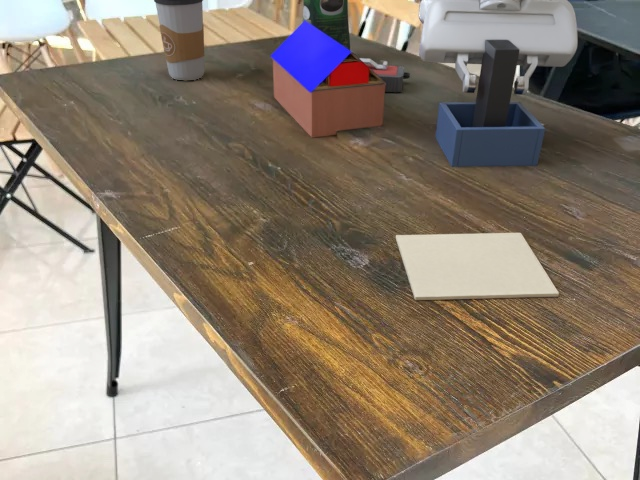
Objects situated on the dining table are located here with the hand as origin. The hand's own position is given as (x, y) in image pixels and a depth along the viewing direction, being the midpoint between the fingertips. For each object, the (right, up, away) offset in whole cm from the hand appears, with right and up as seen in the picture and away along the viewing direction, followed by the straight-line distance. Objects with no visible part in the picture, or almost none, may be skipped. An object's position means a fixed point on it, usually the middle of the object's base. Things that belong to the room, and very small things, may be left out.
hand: (495, 91), depth 85 cm
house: (-22, +3, +19) cm, 29 cm away
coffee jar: (-22, +22, +44) cm, 54 cm away
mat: (-7, -24, -18) cm, 31 cm away
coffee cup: (-47, +14, +34) cm, 60 cm away
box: (0, -7, +6) cm, 9 cm away
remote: (0, -6, +5) cm, 8 cm away
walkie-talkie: (-17, +12, +32) cm, 38 cm away
